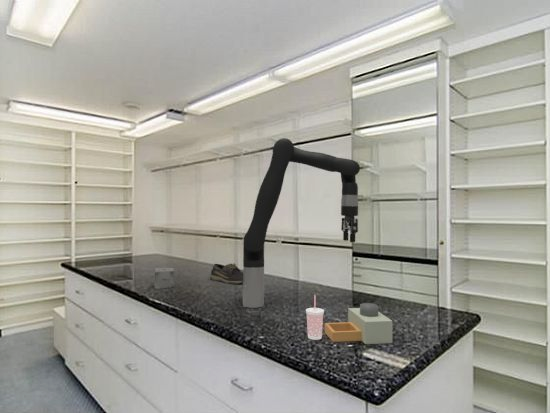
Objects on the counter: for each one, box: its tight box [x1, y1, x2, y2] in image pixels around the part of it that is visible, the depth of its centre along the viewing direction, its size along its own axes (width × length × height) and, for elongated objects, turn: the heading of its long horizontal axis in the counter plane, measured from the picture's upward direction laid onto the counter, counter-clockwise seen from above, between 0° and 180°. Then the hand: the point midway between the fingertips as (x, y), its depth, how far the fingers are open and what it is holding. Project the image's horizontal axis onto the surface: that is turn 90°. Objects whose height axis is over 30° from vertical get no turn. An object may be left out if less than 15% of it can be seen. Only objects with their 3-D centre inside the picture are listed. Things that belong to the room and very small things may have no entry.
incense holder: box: [154, 266, 175, 290], centre depth 193 cm, size 10×8×10 cm
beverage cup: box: [305, 294, 325, 341], centre depth 119 cm, size 6×6×14 cm
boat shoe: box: [209, 263, 243, 285], centre depth 211 cm, size 11×29×11 cm, turn 58°
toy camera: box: [324, 302, 393, 345], centre depth 121 cm, size 19×16×10 cm
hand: (349, 241), depth 161 cm, fingers open, 8 cm apart
